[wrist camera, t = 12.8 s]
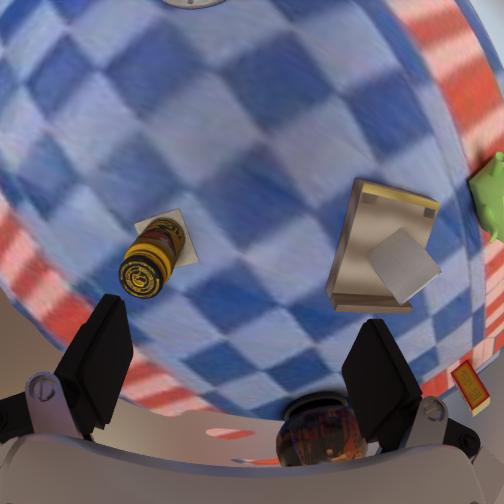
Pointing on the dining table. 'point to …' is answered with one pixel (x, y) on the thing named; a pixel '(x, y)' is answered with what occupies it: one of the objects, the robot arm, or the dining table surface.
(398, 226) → the dock
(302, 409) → the amphora vase
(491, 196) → the kettle
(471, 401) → the baking soda box
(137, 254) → the condiment
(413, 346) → the dining table surface
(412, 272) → the small white carton
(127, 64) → the dining table surface
